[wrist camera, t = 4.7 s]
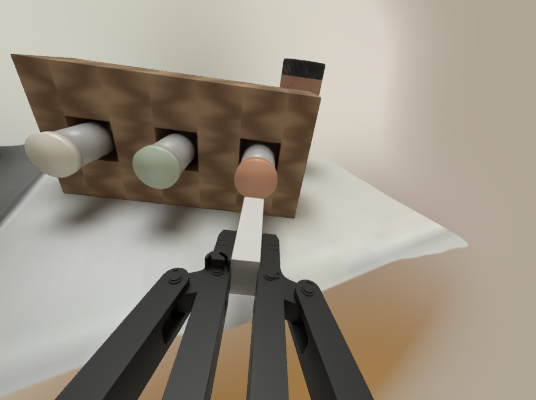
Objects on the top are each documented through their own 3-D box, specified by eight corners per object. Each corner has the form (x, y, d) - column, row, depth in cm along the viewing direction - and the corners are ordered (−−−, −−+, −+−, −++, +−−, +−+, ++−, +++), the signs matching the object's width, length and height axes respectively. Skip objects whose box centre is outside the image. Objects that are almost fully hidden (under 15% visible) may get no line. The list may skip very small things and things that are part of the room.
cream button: (35, 174, 22) (16, 130, 20) (85, 152, 28) (74, 117, 26) (80, 180, 23) (66, 137, 20) (120, 157, 29) (113, 122, 26)
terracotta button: (233, 197, 23) (235, 157, 21) (240, 171, 30) (243, 138, 27) (274, 202, 24) (280, 163, 21) (273, 175, 30) (278, 143, 28)
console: (63, 192, 30) (10, 53, 22) (102, 170, 37) (71, 58, 29) (294, 218, 32) (321, 97, 24) (290, 192, 39) (309, 91, 31)
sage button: (136, 186, 23) (128, 144, 21) (164, 162, 29) (160, 128, 27) (179, 191, 23) (176, 150, 21) (198, 166, 29) (197, 132, 27)
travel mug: (294, 177, 45) (318, 61, 35) (262, 166, 48) (275, 56, 38) (308, 167, 51) (331, 66, 41) (278, 157, 54) (293, 61, 44)
